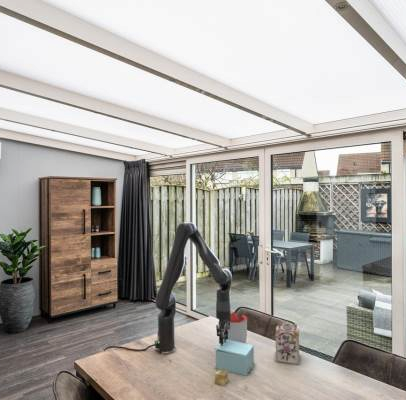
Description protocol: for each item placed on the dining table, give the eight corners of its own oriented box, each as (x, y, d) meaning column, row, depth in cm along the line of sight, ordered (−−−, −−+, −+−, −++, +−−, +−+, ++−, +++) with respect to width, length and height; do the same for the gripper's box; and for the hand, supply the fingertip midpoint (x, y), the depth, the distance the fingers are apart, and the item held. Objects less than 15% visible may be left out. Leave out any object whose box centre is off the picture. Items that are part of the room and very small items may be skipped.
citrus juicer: (252, 343, 193) (252, 309, 193) (241, 355, 178) (240, 318, 179) (228, 338, 201) (228, 305, 202) (215, 348, 187) (215, 313, 187)
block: (215, 383, 151) (214, 373, 151) (218, 378, 155) (218, 369, 155) (224, 385, 148) (224, 375, 149) (227, 380, 152) (227, 371, 152)
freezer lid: (214, 349, 165) (214, 338, 165) (223, 340, 176) (223, 330, 176) (245, 357, 157) (246, 345, 157) (253, 346, 168) (253, 336, 168)
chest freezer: (216, 368, 164) (215, 350, 164) (225, 358, 175) (225, 341, 176) (246, 375, 157) (245, 357, 157) (253, 364, 168) (253, 347, 168)
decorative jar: (299, 355, 177) (299, 321, 178) (299, 365, 166) (298, 329, 167) (276, 352, 181) (276, 319, 182) (275, 361, 170) (274, 326, 171)
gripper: (221, 303, 178) (222, 335, 177) (211, 311, 165) (211, 345, 165) (235, 305, 174) (235, 337, 174) (225, 313, 161) (225, 348, 161)
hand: (223, 341), depth 169 cm, fingers closed on freezer lid, 5 cm apart
